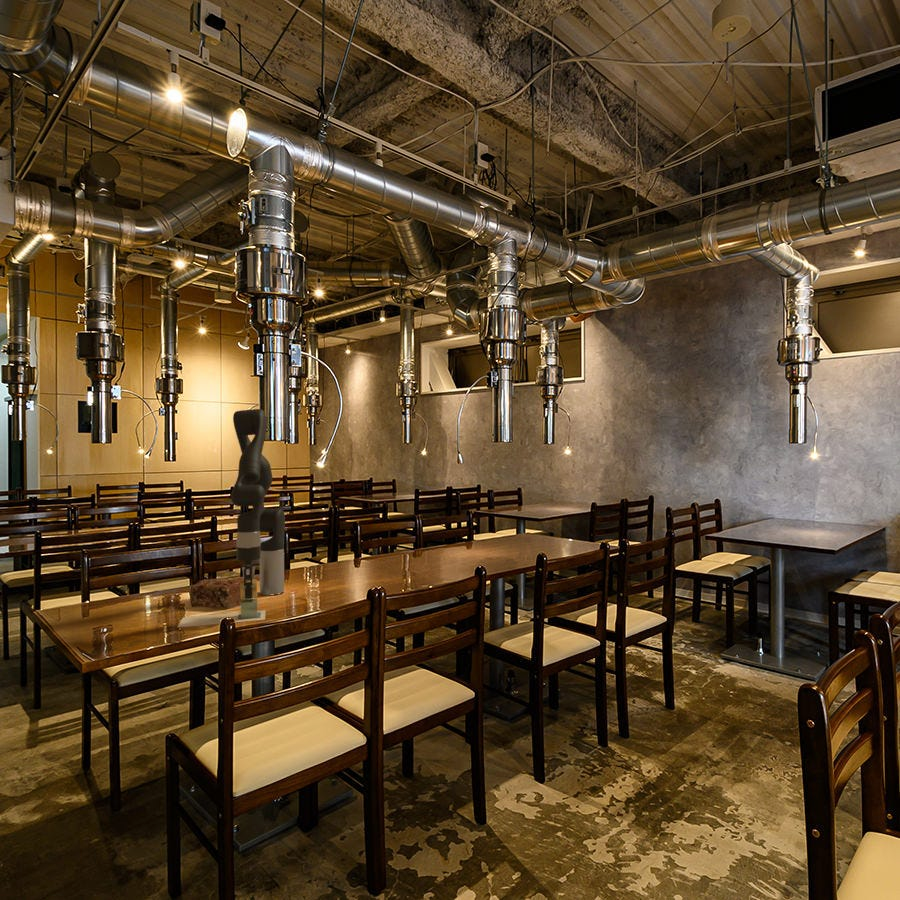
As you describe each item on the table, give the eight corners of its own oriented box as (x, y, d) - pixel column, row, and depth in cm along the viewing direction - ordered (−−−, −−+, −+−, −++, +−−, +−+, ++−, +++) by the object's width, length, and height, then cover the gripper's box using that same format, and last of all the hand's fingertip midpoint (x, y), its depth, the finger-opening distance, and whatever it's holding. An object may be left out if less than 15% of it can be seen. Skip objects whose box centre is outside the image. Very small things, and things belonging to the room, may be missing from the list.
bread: (249, 605, 209) (248, 578, 209) (225, 613, 199) (225, 584, 200) (212, 601, 217) (212, 574, 217) (188, 607, 208) (188, 579, 208)
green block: (241, 614, 193) (241, 599, 193) (257, 613, 194) (257, 598, 195) (240, 618, 188) (240, 603, 188) (257, 617, 190) (257, 601, 190)
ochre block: (241, 595, 193) (241, 580, 193) (257, 594, 194) (257, 579, 195) (240, 598, 188) (240, 583, 188) (256, 597, 190) (256, 582, 190)
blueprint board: (183, 619, 191) (183, 617, 191) (265, 612, 198) (265, 610, 198) (177, 629, 179) (177, 626, 179) (264, 621, 187) (264, 619, 187)
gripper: (238, 542, 197) (238, 592, 197) (235, 548, 184) (235, 602, 183) (261, 541, 200) (261, 591, 199) (259, 547, 186) (260, 600, 186)
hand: (249, 596), depth 191 cm, fingers closed on ochre block, 5 cm apart
